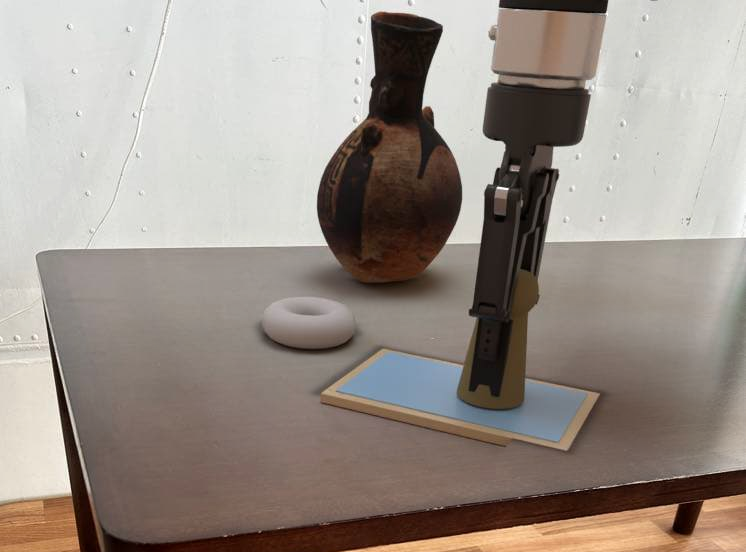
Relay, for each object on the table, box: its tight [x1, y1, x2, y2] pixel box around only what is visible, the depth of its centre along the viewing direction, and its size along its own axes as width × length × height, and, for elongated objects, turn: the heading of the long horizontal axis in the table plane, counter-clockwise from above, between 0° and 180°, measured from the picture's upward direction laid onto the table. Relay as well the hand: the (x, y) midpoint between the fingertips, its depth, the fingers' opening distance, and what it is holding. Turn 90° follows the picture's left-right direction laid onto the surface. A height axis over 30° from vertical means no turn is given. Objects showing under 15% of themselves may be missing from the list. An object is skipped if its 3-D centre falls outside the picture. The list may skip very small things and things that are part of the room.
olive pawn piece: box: [457, 269, 540, 409], centre depth 70 cm, size 6×6×11 cm
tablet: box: [320, 348, 601, 452], centre depth 74 cm, size 22×14×1 cm, turn 64°
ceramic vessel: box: [316, 10, 463, 284], centre depth 101 cm, size 21×18×30 cm
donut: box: [261, 296, 357, 350], centre depth 86 cm, size 10×4×10 cm
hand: (492, 383), depth 72 cm, fingers closed on olive pawn piece, 4 cm apart
